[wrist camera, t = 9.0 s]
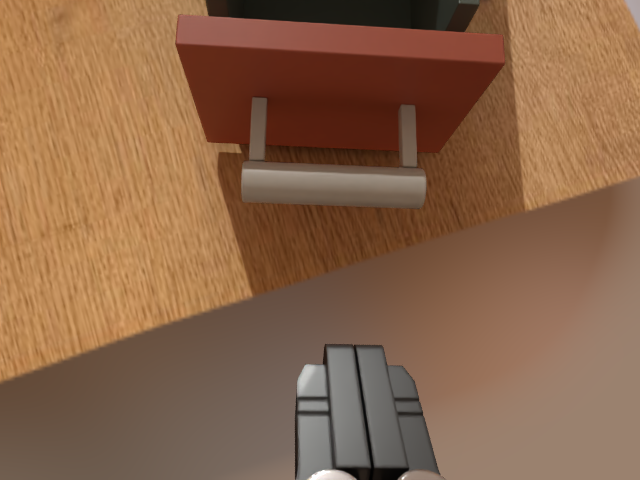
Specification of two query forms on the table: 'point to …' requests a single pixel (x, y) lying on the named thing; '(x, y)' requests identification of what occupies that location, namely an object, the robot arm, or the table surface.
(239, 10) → the drawer
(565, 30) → the table surface
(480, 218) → the table surface
